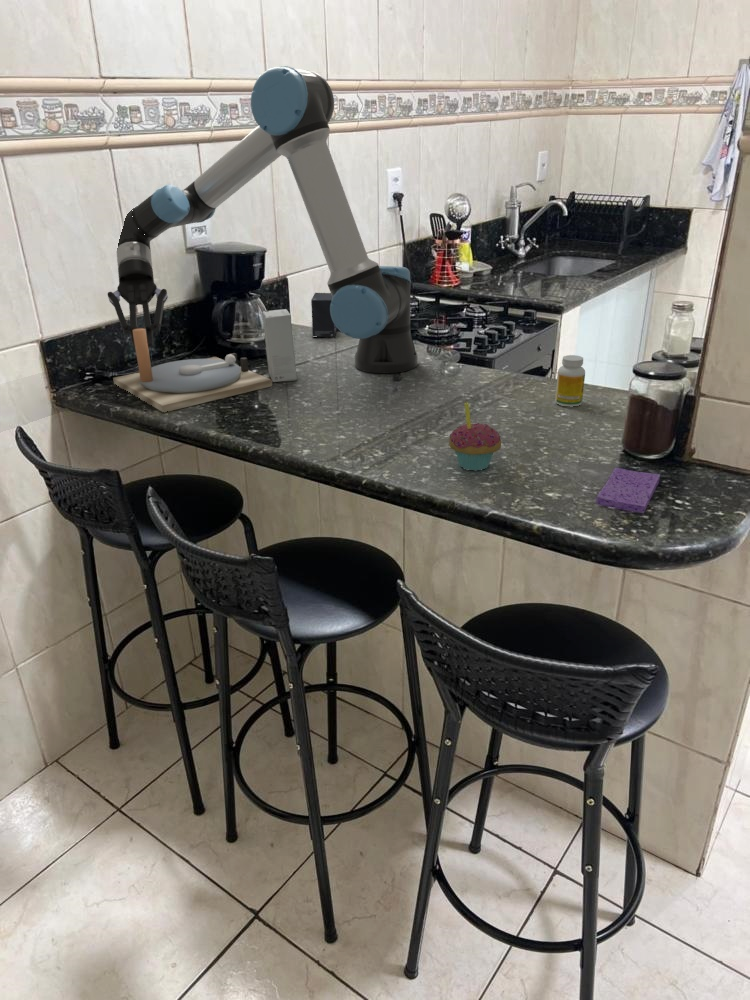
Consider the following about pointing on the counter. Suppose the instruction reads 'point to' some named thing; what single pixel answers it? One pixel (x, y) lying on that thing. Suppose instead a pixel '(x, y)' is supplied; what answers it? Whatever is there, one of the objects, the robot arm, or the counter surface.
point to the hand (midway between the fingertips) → (144, 358)
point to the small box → (322, 316)
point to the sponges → (628, 490)
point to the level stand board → (181, 400)
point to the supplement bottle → (570, 381)
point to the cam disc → (183, 371)
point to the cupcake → (474, 443)
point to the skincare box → (279, 345)
